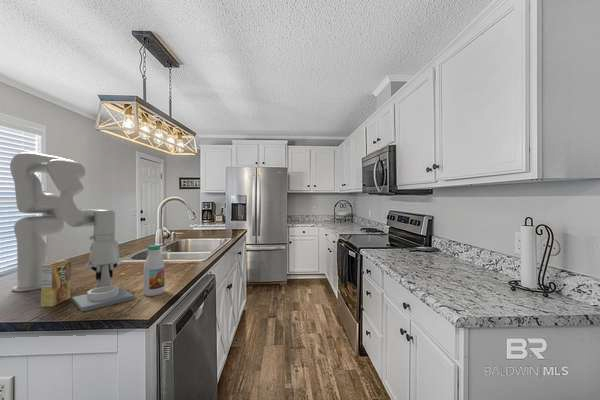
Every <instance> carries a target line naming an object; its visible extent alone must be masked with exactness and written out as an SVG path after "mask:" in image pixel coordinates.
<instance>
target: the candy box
mask: <svg viewBox="0 0 600 400" xmlns="http://www.w3.org/2000/svg"><path fill="white" fill-rule="evenodd" d="M71 267H72V260H71V259H59V260H55V261H51V262H49V263H48V262H47V264H44V265H42V282H41V288H40V289H41V290H40V291H41V293H40V295H41V296H40V307H41V308H44V307H45V308H47V307H54V306H56V305H59V304H60V303H63V302H64V301H67V300H69V299H71V280H72V279H71V278H72V277H71V272H72V271H71V270H72V268H71Z"/></svg>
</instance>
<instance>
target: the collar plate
mask: <svg viewBox="0 0 600 400" xmlns="http://www.w3.org/2000/svg"><path fill="white" fill-rule="evenodd" d="M132 300H134V294H132V293H130V292H129V291H127V290H126V289H124V288H122V287H121V286H119V287H118V286H117V285H112V286H104V287H99V288H97V287H94V288H92V289H88V291H86V294H85V293H83V294H81V295H75V296H72V297H71V301H72V303H74V305H75V306H76V307H77V308H78V310H80V312H81V311H82V312H81V313H83V311H84V312H87V311H91V310H95V309H98V308H99V309H100V308H105V307H107V306H111V305H115V304H116V305H117V304H120V303H123V302H127V301H132Z"/></svg>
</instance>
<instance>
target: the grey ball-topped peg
mask: <svg viewBox="0 0 600 400" xmlns="http://www.w3.org/2000/svg"><path fill="white" fill-rule="evenodd" d="M109 271H110V268H109V264H106V265H101V266H100V272H101V280H100V282H99V279H98V280H96V284H95V285H96V287H95V288H99V287H104V286H113V277H111V278H110V274H109Z"/></svg>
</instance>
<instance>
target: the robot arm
mask: <svg viewBox="0 0 600 400" xmlns="http://www.w3.org/2000/svg"><path fill="white" fill-rule="evenodd" d="M9 165H10V166H9V170H10V174H11V176H12V179H13V183H14V192H15V193H14V194H15V201H16V207H17V210H18V211H19V212H20V213H22V214H42V215H38V216H37V215H34V216H33V215H32V216H25V217H22V218H20V219H18V220H16V221H15V224H14V226H13V231H14V235H15V239H16V248H17V249H16V250H17V252H16V255H17V256H16V258H17V259H16V260H17V261H16V262H17V263H16V265H17V267H16V272H17V274H16V276H17V277H16V278H17V279H16V285H14V286H12V288H11V291H13V292H28V291H36V290H40V289H41V282H42V265H44V264H48V245H47V242H46V241H45V240H44V238H43V237H50V236H56V235H58V234H61V233H62V232H63V230H64V227H65V223H66V225H68V226H69V227H71V228H85V227H86V228H87V227H93V235H91V236H89V240H92V242H91V244H90V250H89V258H88V259H89V260H88V261H87V262H86V264H85V266H84V267H85V268H87V269H88V270H89V269H90V270H92V271H93V272H95V281H97V280H98V279H99V282H100V280H101V272H100V266H101V265H106V264H109V268H110V271H109V274H110V278H113V271H114V269H115V268H116V267H118V266H119V265H120V264H121V263H123V261H122V259H121V258H120V249H119V242H118V240H117V239H116V213H115V212H116V211H114V210H113V209H96V208H88V209H87V208H83V209H81V208H80V209H79V208H78V206H77V205H76V204H75V202H74V197H75V196H78V195H79V194H81V193H82V192H83V190H84V185H83V183H82V182H81V179H82V178H84V177H85V175H86V168H85V167H84V165H83V164H82V163H81V162H79V161H76V160H75V161H74V160H71V159H66V158H63V157H61V156H56V155H51V154H50V155H49V154H44V153H40V152H39V153H38V152H31V151H24V152H23V151H22V152H19V153H17V154H15V155H14V156H13V157H12V158H11V161H10V163H9ZM35 173H40V174H48V175H49V177H50V179H51V181H52V182H53V184H54V185H55V187H56V189H57V190H58V192H59V194H60V195H59V196H58V195H56V193H55V194H54V193H52V192H43V188H42V182H41V180H40V178H39V177H38V176H37V175H36V174H35Z"/></svg>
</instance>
